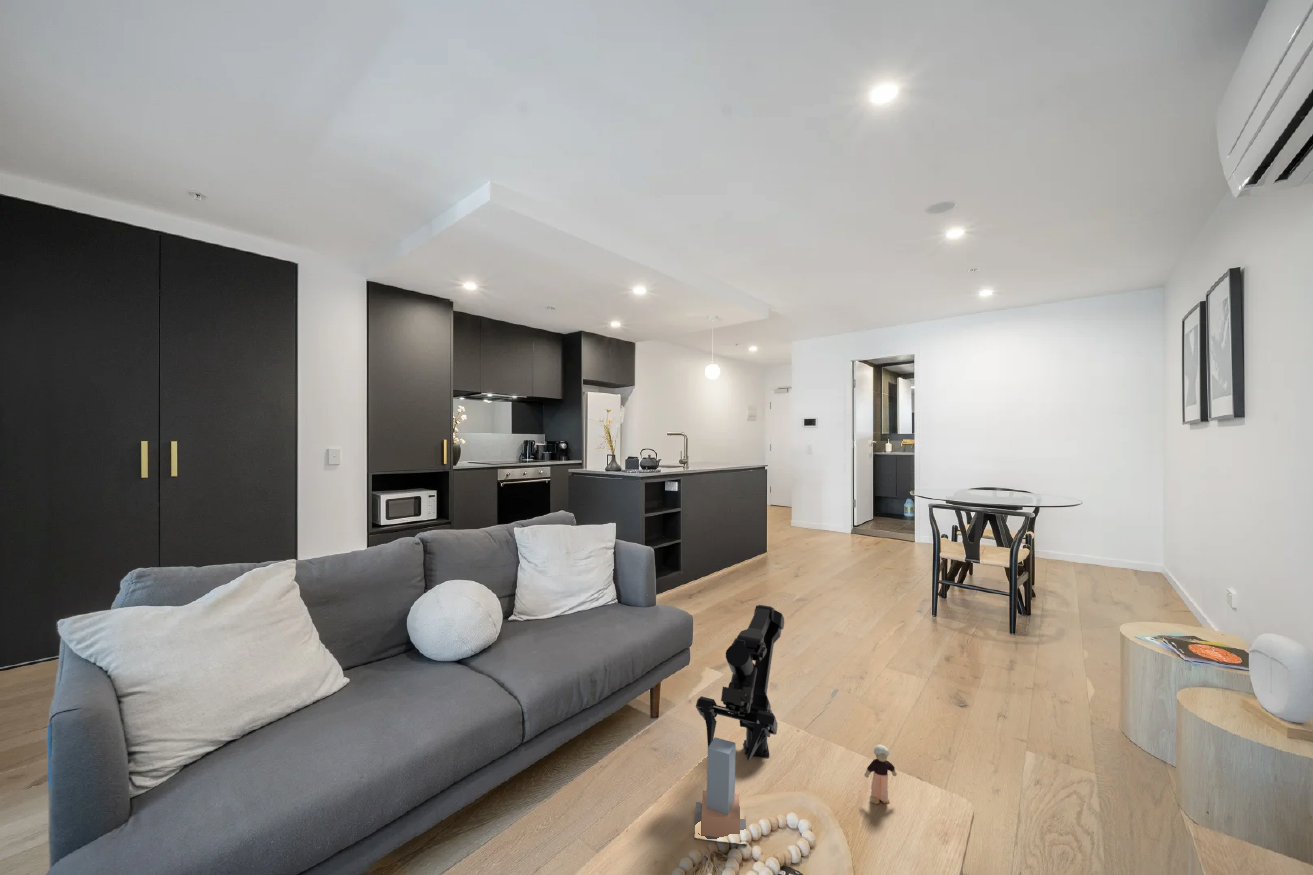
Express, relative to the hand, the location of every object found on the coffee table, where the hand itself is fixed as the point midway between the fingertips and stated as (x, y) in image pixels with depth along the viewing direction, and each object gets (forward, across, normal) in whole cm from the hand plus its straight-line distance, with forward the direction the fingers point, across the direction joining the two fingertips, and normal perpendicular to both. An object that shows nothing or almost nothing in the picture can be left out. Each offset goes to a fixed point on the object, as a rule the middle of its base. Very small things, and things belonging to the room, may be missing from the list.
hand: (728, 754), depth 113 cm
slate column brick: (+9, 0, +2) cm, 9 cm away
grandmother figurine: (-6, +31, +24) cm, 40 cm away
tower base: (+13, 0, +5) cm, 14 cm away
